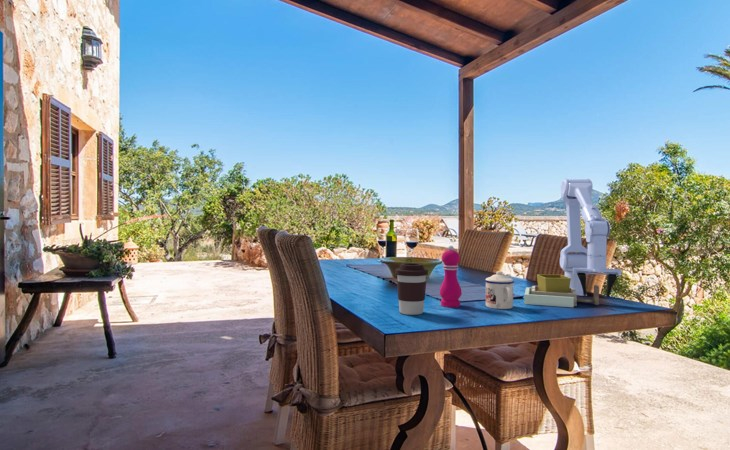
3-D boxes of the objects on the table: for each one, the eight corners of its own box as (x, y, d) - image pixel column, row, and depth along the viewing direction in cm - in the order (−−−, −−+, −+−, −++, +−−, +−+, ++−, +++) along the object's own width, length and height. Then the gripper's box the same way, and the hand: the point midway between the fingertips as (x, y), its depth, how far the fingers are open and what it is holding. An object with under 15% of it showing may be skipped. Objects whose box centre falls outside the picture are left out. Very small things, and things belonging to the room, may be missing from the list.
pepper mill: (460, 303, 154) (460, 245, 154) (462, 308, 147) (463, 246, 147) (438, 303, 155) (439, 244, 154) (440, 307, 148) (440, 246, 147)
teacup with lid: (480, 304, 153) (480, 270, 153) (504, 303, 155) (505, 269, 154) (497, 312, 141) (497, 274, 141) (523, 310, 143) (524, 273, 143)
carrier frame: (532, 296, 168) (532, 280, 168) (595, 300, 160) (596, 283, 160) (531, 303, 155) (531, 285, 155) (600, 307, 147) (600, 289, 147)
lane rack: (526, 295, 170) (526, 287, 170) (570, 298, 165) (570, 289, 165) (524, 304, 154) (524, 294, 154) (573, 307, 149) (573, 297, 148)
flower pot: (571, 304, 154) (571, 277, 154) (545, 303, 155) (545, 277, 154) (560, 299, 163) (560, 274, 163) (536, 299, 163) (536, 274, 163)
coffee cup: (401, 317, 133) (401, 266, 133) (390, 310, 143) (391, 262, 142) (432, 315, 136) (433, 265, 136) (420, 308, 145) (420, 262, 145)
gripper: (574, 255, 153) (573, 296, 153) (623, 257, 147) (622, 299, 147) (572, 254, 159) (572, 293, 159) (619, 255, 154) (619, 295, 154)
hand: (596, 295), depth 154 cm, fingers open, 6 cm apart
